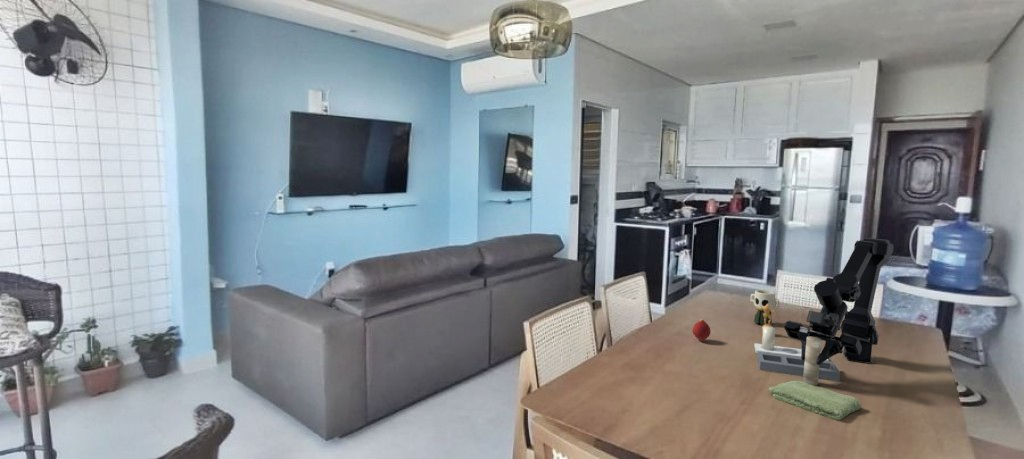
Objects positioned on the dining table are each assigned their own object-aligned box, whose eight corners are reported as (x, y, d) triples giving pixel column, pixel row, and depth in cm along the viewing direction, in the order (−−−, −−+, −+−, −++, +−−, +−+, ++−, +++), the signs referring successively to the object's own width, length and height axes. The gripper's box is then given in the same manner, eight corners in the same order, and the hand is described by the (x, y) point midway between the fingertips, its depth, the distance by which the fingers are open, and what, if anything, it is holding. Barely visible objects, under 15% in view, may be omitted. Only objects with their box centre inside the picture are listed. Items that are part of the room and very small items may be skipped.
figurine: (781, 336, 179) (784, 304, 178) (775, 340, 175) (778, 307, 174) (757, 330, 185) (759, 299, 184) (751, 334, 181) (753, 302, 180)
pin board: (832, 369, 149) (833, 361, 149) (839, 381, 140) (840, 372, 140) (757, 359, 156) (758, 351, 156) (759, 369, 148) (760, 361, 148)
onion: (707, 338, 176) (708, 316, 175) (711, 344, 170) (713, 321, 169) (690, 337, 176) (691, 316, 175) (694, 343, 170) (695, 320, 169)
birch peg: (816, 381, 140) (820, 337, 138) (818, 386, 137) (822, 341, 135) (801, 379, 141) (805, 335, 140) (803, 384, 138) (807, 339, 136)
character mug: (744, 322, 196) (746, 290, 195) (753, 319, 201) (755, 288, 199) (772, 329, 188) (775, 295, 186) (781, 325, 192) (783, 293, 191)
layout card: (823, 355, 161) (825, 331, 160) (828, 363, 154) (830, 338, 153) (754, 346, 169) (756, 323, 168) (756, 353, 162) (757, 329, 161)
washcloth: (790, 385, 138) (791, 374, 138) (862, 410, 124) (863, 398, 123) (765, 397, 131) (766, 385, 130) (839, 425, 116) (840, 412, 116)
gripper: (789, 293, 146) (767, 336, 141) (862, 308, 131) (840, 356, 126) (799, 315, 151) (779, 357, 146) (870, 331, 136) (850, 378, 131)
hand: (809, 361), depth 137 cm, fingers closed on birch peg, 4 cm apart
